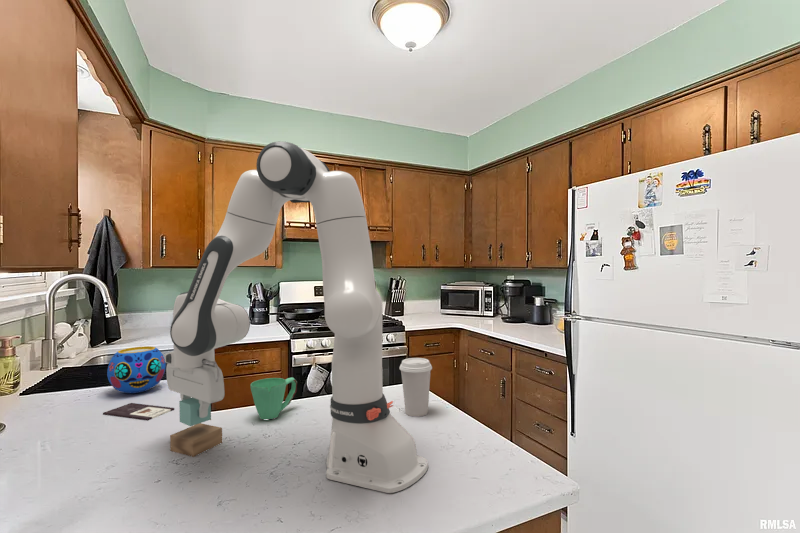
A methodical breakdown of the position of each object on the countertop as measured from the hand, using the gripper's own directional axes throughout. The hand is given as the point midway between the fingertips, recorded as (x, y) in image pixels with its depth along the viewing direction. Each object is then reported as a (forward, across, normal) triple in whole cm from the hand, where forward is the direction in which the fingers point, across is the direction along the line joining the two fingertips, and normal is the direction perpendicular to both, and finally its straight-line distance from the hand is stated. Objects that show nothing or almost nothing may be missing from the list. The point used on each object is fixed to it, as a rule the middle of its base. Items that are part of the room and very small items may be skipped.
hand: (195, 414), depth 97 cm
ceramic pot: (+8, +63, -12) cm, 65 cm away
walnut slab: (+8, 0, 0) cm, 8 cm away
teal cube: (+2, 0, 0) cm, 2 cm away
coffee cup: (+8, -33, -47) cm, 58 cm away
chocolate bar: (+9, +39, -3) cm, 40 cm away
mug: (+8, +1, -24) cm, 26 cm away
